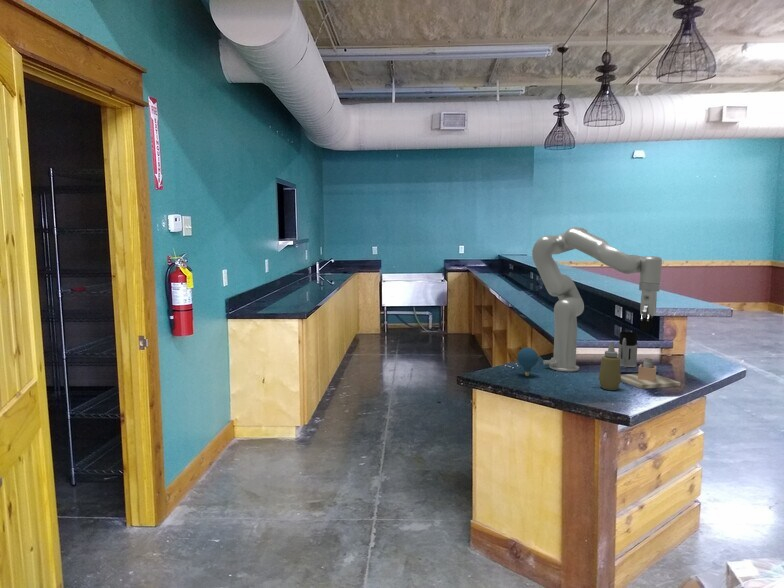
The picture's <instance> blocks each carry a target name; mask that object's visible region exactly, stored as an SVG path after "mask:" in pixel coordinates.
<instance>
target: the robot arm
mask: <svg viewBox="0 0 784 588" xmlns="http://www.w3.org/2000/svg"><path fill="white" fill-rule="evenodd" d="M574 250H577V251H579V252H581V253H583V254H586V255H587V256H589V257H591V258H593V259H595V261H598V262H600V263H602V264H603V265H605V266H607V267H608V268H611V269H613V270H615V271H617V272H619V273H622V274H627V275H628V274H629V275H630V274H636V273H637V274H639V283H638V284H639V285H638V291H641V296H640V309H639V311H640V313H639V314H640V315H641V318H640V323H639V331H643V332H649V330H650V329H651V328H652V327H653V317H654V316H655V315H656V314H657V300H658V299H657V298H658V297H657V293H658V292H660V288H661V276H662V266H663V260H662V258H661V257H660V256H653V255H652V256H651V255H649V256H647V255H645V256H641V255H637V254H636V255H635V254H628V253H625V252H624V251H621V250H619V249H618V248H617V249H616V248H614V247H613V246H611V244H609V243H608V241H606V240H605V239H604V238H602V237H599V236H597V235H595V234H592V233H590V232H588V230H587V229H586V228H584V227H577V226H572V227H570V228H568V229H567V230H566V231H565V232H563V233H560V234H556V235H550V234H549V235H547V234H546V235H544V236H541V237H539V238H538V239H537V240H536V241H535V243H534V244H533V247H532V250H531V252H532V253H531V255H532V260H533V263H534V266H535V268H536V269H537V272H538V274H539V277H540V278H541V280H542V283H543V285H544V287H545V289H546V292H547V293H548V294H549V295H550V296H552V297H554V298H555V297H557V298H558V301H557V302H555V304H554V307H553V317H554V319H553V320H554V330H553V331H554V337H553V339H554V341H553V357H551V359H544V360H542V363H543V365H549V369H551V370H553V371H559V372H570V373H571V372H577V371H580V366H579V365H577V344H578V343H577V342H578V341H577V340H578V322H577V321H578V320H577V317H579V316H580V315H582V314H583V312H584V310H585V305H584V304H585V303H584V300H583V298H582V296H581V295H580V292H579V290H578V288H577V286H576V284H575V282H574V279H572V278H571V277H570V276H568V275H566V274H562V273H561V270H560V268H559V266H558V264H557V263H556V261H555V259H554V258H553V255H560V254H563V253H567V252H570V251H574Z"/></svg>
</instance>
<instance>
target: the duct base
mask: <svg viewBox="0 0 784 588" xmlns="http://www.w3.org/2000/svg"><path fill="white" fill-rule="evenodd" d="M652 366H653V359H652V358H647V357H645V358H643V367H646V368H652ZM621 382H622V383H625V384H628V385H630V386H632V387H636V388H638V389H641V390H642V389H644V390H645V389H658V388H660V389H661V388H676V387H677V388H678V387H681V385H682V384H681V382H680V381H677V380H674V379H671V378H668V377H665V376H662V375H660V374H657V373H656V379H655V381H648V380H640V379H638V373H630V374H629V373H627V374H621Z"/></svg>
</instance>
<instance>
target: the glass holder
mask: <svg viewBox="0 0 784 588" xmlns="http://www.w3.org/2000/svg"><path fill="white" fill-rule="evenodd" d="M617 352H618V356H617V357H618V358H619V359H620V366H624V367H623V368H626V367H635V366H637V367H638V364H637V360H638V333H637V332H634V331H633V332H632V331H621V332H620V331H619V340H618V351H617Z"/></svg>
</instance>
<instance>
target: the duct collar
mask: <svg viewBox="0 0 784 588" xmlns="http://www.w3.org/2000/svg"><path fill="white" fill-rule="evenodd" d="M637 374H638V379H640V380H648V381H655V379H656V374H657V365H652V368H646V367H643V364H641V363H640V364H639V366H638V372H637Z"/></svg>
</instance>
